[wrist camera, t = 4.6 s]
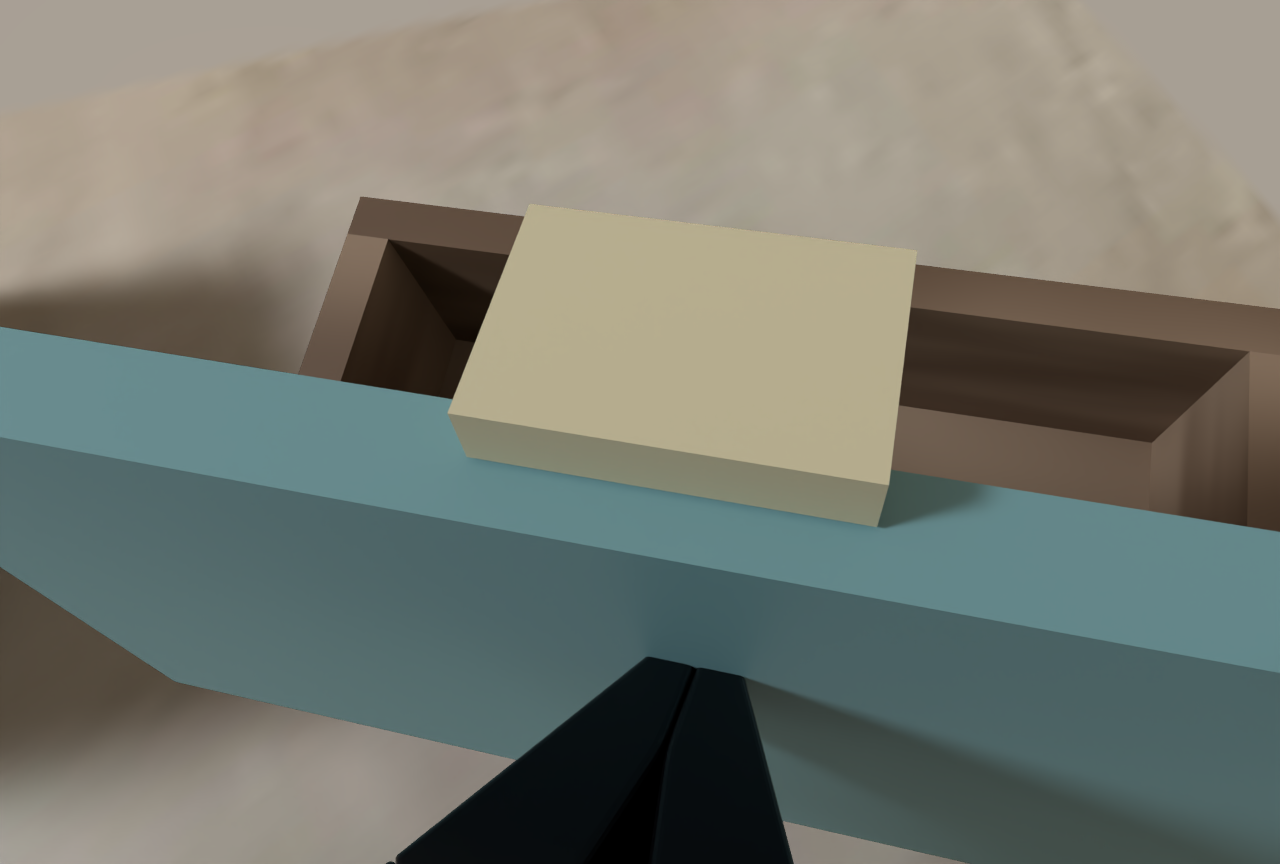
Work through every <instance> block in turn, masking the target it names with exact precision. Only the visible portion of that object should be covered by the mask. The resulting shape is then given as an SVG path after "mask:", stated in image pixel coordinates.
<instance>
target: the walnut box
mask: <svg viewBox="0 0 1280 864" xmlns="http://www.w3.org/2000/svg"><path fill="white" fill-rule="evenodd" d="M523 219H524V217H523V216H515V215H507V214H499V213H491V212H482V211H474V210H466V209H458V208H450V207H442V206H433V205H425V204H417V203H409V202H401V201H393V200H384V199H376V198H368V197H360V200H359V203H358V206H357V209H356V211H355V214H354V217H353V220H352V223H351V226H350V228H349V231H348V234H347V237H346V240H345V243H344V246H343V248H342V251H341V254H340V257H339V260H338V263H337V266H336V268H335V271H334V274H333V277H332V280H331V283H330V285H329V288H328V291H327V294H326V297H325V300H324V303H323V305H322V308H321V311H320V314H319V317H318V320H317V322H316V325H315V328H314V331H313V334H312V337H311V340H310V342H309V345H308V348H307V351H306V354H305V357H304V359H303V362H302V365H301V368H300V371H299V374H298V375H304V376H310V377H316V378H323V379H329V380H335V381H341V382H348V383H354V384H360V385H366V386H373V387H379V388H385V389H391V390H398V391H404V392H410V393H416V394H422V395H429V396H435V397H441V398H447V399H453V397H454V395H455V392H456V390H457V387H458V385H459V382H460V380H461V377H462V375H463V372H464V370H465V367H466V364H467V362H468V359H469V357H470V354H471V352H472V349H473V347H474V344H475V342H476V339H477V336H478V334H479V331H480V329H481V326H482V324H483V321H484V319H485V316H486V314H487V311H488V308H489V306H490V303H491V301H492V298H493V296H494V293H495V291H496V288H497V286H498V283H499V280H500V278H501V275H502V273H503V270H504V268H505V265H506V263H507V260H508V258H509V255H510V252H511V250H512V247H513V245H514V242H515V240H516V237H517V235H518V232H519V230H520V227H521V224H522V222H523ZM891 470H896V471H903V472H909V473H915V474H921V475H928V476H934V477H940V478H946V479H953V480H959V481H965V482H971V483H978V484H984V485H990V486H996V487H1002V488H1009V489H1015V490H1021V491H1027V492H1034V493H1040V494H1046V495H1052V496H1059V497H1065V498H1071V499H1077V500H1084V501H1090V502H1096V503H1102V504H1108V505H1115V506H1121V507H1127V508H1133V509H1140V510H1146V511H1152V512H1158V513H1165V514H1171V515H1177V516H1183V517H1190V518H1196V519H1202V520H1208V521H1214V522H1221V523H1227V524H1233V525H1239V526H1246V527H1252V528H1258V529H1264V530H1271V531H1277V532H1280V309H1275V308H1266V307H1258V306H1250V305H1242V304H1234V303H1226V302H1217V301H1209V300H1201V299H1193V298H1185V297H1177V296H1168V295H1160V294H1152V293H1144V292H1136V291H1128V290H1119V289H1111V288H1103V287H1095V286H1087V285H1079V284H1070V283H1062V282H1054V281H1046V280H1038V279H1030V278H1021V277H1013V276H1005V275H997V274H989V273H981V272H972V271H964V270H956V269H948V268H940V267H932V266H923V265H915V273H914V281H913V290H912V298H911V306H910V315H909V323H908V331H907V340H906V348H905V356H904V365H903V373H902V381H901V389H900V398H899V406H898V414H897V423H896V431H895V439H894V448H893V456H892V464H891Z"/></svg>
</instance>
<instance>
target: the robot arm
mask: <svg viewBox="0 0 1280 864" xmlns="http://www.w3.org/2000/svg"><path fill="white" fill-rule="evenodd" d="M386 864H395V863H394V862H392V861H390V862H387V863H386ZM396 864H794V863H793V859H792V855H791V851H790V848H789V844H788V840H787V836H786V832H785V829H784V825H783V821H782V817H781V813H780V810H779V806H778V802H777V798H776V794H775V791H774V787H773V783H772V779H771V775H770V772H769V768H768V764H767V760H766V756H765V753H764V749H763V745H762V741H761V737H760V734H759V730H758V726H757V722H756V718H755V715H754V711H753V707H752V703H751V699H750V696H749V692H748V688H747V684H746V680H745V678H744V677H742V676H740V675H735V674H730V673H726V672H721V671H716V670H711V669H707V668H701V667H699V668H696V670H695V669H694V668H693V667H692V666H690V665H687V664H683V663H678V662H673V661H669V660H664V659H659V658H654V657H649V656H648V657H645V658H644V659H642V660H641V661H640V662H639V663H637V664H636V665H635V666H634V667H632V668H631V669H630V670H629V671H627V672H626V673H625V674H624V675H622V676H621V677H620V678H619V679H617V680H616V681H615V682H614V683H612V684H611V685H610V686H609V687H607V688H606V689H605V690H604V691H602V692H601V693H600V694H599V695H597V696H596V697H595V698H594V699H592V700H591V701H590V702H589V703H587V704H586V705H585V706H584V707H582V708H581V709H580V710H579V711H577V712H576V713H575V714H574V715H572V716H571V717H570V718H569V719H567V720H566V721H565V722H563V723H562V724H561V725H560V726H558V727H557V728H556V729H555V730H553V731H552V732H551V733H550V734H548V735H547V736H546V737H545V738H543V739H542V740H541V741H540V742H538V743H537V744H536V745H535V746H533V747H532V748H531V749H530V750H528V751H527V752H526V753H525V754H523V755H522V756H521V757H520V758H518V759H517V760H516V761H515V762H513V763H512V764H511V765H510V766H508V767H507V768H506V769H505V770H503V771H502V772H501V773H500V774H498V775H497V776H496V777H495V778H493V779H492V780H491V781H490V782H488V783H487V784H486V785H485V786H483V787H482V788H481V789H480V790H478V791H477V792H476V793H475V794H473V795H472V796H471V797H470V798H468V799H467V800H466V801H465V802H463V803H462V804H461V805H460V806H458V807H457V808H456V809H454V810H453V811H452V812H451V813H449V814H448V815H447V816H446V817H444V818H443V819H442V820H441V821H439V822H438V823H437V824H436V825H434V826H433V827H432V828H431V829H429V830H428V831H427V832H426V833H424V834H423V835H422V836H421V837H419V838H418V839H417V840H416V841H414V842H413V843H412V844H411V845H409V846H408V847H407V848H406V849H404V850H403V851H402V852H401V853H399V854H398V855H397V857H396Z"/></svg>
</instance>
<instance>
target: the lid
mask: <svg viewBox="0 0 1280 864" xmlns="http://www.w3.org/2000/svg"><path fill="white" fill-rule="evenodd" d="M916 256H917V250H910V249H902V248H893V247H885V246H877V245H868V244H860V243H852V242H843V241H835V240H827V239H818V238H810V237H802V236H793V235H785V234H777V233H768V232H760V231H752V230H743V229H735V228H726V227H718V226H710V225H701V224H693V223H685V222H676V221H668V220H660V219H651V218H643V217H635V216H626V215H618V214H610V213H601V212H593V211H585V210H576V209H568V208H560V207H551V206H543V205H535V204H529V207H528V209H527V212H526V214H525V217H524V219H523V222H522V224H521V227H520V230H519V232H518V235H517V237H516V240H515V242H514V245H513V247H512V250H511V252H510V255H509V258H508V260H507V263H506V265H505V268H504V270H503V273H502V275H501V278H500V280H499V283H498V286H497V288H496V291H495V293H494V296H493V298H492V301H491V303H490V306H489V308H488V311H487V314H486V316H485V319H484V321H483V324H482V326H481V329H480V331H479V334H478V336H477V339H476V342H475V344H474V347H473V349H472V352H471V354H470V357H469V359H468V362H467V364H466V367H465V370H464V372H463V375H462V377H461V380H460V382H459V385H458V387H457V390H456V392H455V395H454V397H453V399H447V398H441V397H435V396H429V395H422V394H416V393H410V392H404V391H398V390H391V389H385V388H379V387H373V386H366V385H360V384H354V383H348V382H341V381H335V380H329V379H323V378H316V377H310V376H304V375H298V374H292V373H285V372H279V371H273V370H267V369H260V368H254V367H248V366H242V365H235V364H229V363H223V362H217V361H210V360H204V359H198V358H192V357H186V356H179V355H173V354H167V353H161V352H154V351H148V350H142V349H136V348H129V347H123V346H117V345H111V344H104V343H98V342H92V341H86V340H80V339H73V338H67V337H61V336H55V335H48V334H42V333H36V332H30V331H23V330H17V329H11V328H5V327H0V567H1V568H3V569H4V570H6V571H7V572H9V573H10V574H12V575H13V576H15V577H16V578H18V579H19V580H21V581H22V582H24V583H25V584H27V585H28V586H30V587H31V588H33V589H35V590H36V591H38V592H39V593H41V594H42V595H44V596H45V597H47V598H48V599H50V600H51V601H53V602H54V603H56V604H57V605H59V606H60V607H62V608H64V609H65V610H67V611H68V612H70V613H71V614H73V615H74V616H76V617H77V618H79V619H80V620H82V621H83V622H85V623H86V624H88V625H89V626H91V627H92V628H94V629H96V630H97V631H99V632H100V633H102V634H103V635H105V636H106V637H108V638H109V639H111V640H112V641H114V642H115V643H117V644H118V645H120V646H121V647H123V648H125V649H126V650H128V651H129V652H131V653H132V654H134V655H135V656H137V657H138V658H140V659H141V660H143V661H144V662H146V663H147V664H149V665H150V666H152V667H153V668H155V669H157V670H158V671H160V672H161V673H163V674H164V675H166V676H167V677H169V678H170V679H172V680H173V681H175V682H179V683H183V684H188V685H192V686H196V687H201V688H205V689H209V690H214V691H218V692H222V693H227V694H231V695H236V696H240V697H244V698H249V699H253V700H257V701H262V702H266V703H271V704H275V705H279V706H284V707H288V708H292V709H297V710H301V711H305V712H310V713H314V714H319V715H323V716H327V717H332V718H336V719H340V720H345V721H349V722H354V723H358V724H362V725H367V726H371V727H375V728H380V729H384V730H389V731H393V732H397V733H402V734H406V735H410V736H415V737H419V738H423V739H428V740H432V741H437V742H441V743H445V744H450V745H454V746H458V747H463V748H467V749H472V750H476V751H480V752H485V753H489V754H493V755H498V756H502V757H507V758H511V759H515V760H517V759H518V758H520V757H521V756H522V755H523V754H525V753H526V752H527V751H528V750H530V749H531V748H532V747H533V746H535V745H536V744H537V743H538V742H540V741H541V740H542V739H543V738H545V737H546V736H547V735H548V734H550V733H551V732H552V731H553V730H555V729H556V728H557V727H558V726H560V725H561V724H562V723H563V722H565V721H566V720H567V719H569V718H570V717H571V716H572V715H574V714H575V713H576V712H577V711H579V710H580V709H581V708H582V707H584V706H585V705H586V704H587V703H589V702H590V701H591V700H592V699H594V698H595V697H596V696H597V695H599V694H600V693H601V692H602V691H604V690H605V689H606V688H607V687H609V686H610V685H611V684H612V683H614V682H615V681H616V680H617V679H619V678H620V677H621V676H622V675H624V674H625V673H626V672H627V671H629V670H630V669H631V668H632V667H634V666H635V665H636V664H637V663H639V662H640V661H641V660H642V659H644V658H645V657H648V656H649V657H654V658H659V659H664V660H669V661H673V662H678V663H683V664H687V665H690V666H692V667H693V668H694V669H695V670H696V668H699V667H701V668H707V669H711V670H716V671H721V672H726V673H730V674H735V675H740V676H742V677H744V678H745V680H746V684H747V688H748V692H749V696H750V699H751V703H752V707H753V711H754V715H755V718H756V722H757V726H758V730H759V734H760V737H761V741H762V745H763V749H764V753H765V756H766V760H767V764H768V768H769V772H770V775H771V779H772V783H773V787H774V791H775V794H776V798H777V802H778V806H779V810H780V813H781V817H782V821H786V822H791V823H795V824H799V825H804V826H808V827H812V828H817V829H821V830H826V831H830V832H834V833H839V834H843V835H847V836H852V837H856V838H861V839H865V840H869V841H874V842H878V843H882V844H887V845H891V846H895V847H900V848H904V849H909V850H913V851H917V852H922V853H926V854H930V855H935V856H939V857H944V858H948V859H952V860H957V861H961V862H965V863H970V864H1280V532H1277V531H1271V530H1264V529H1258V528H1252V527H1246V526H1239V525H1233V524H1227V523H1221V522H1214V521H1208V520H1202V519H1196V518H1190V517H1183V516H1177V515H1171V514H1165V513H1158V512H1152V511H1146V510H1140V509H1133V508H1127V507H1121V506H1115V505H1108V504H1102V503H1096V502H1090V501H1084V500H1077V499H1071V498H1065V497H1059V496H1052V495H1046V494H1040V493H1034V492H1027V491H1021V490H1015V489H1009V488H1002V487H996V486H990V485H984V484H978V483H971V482H965V481H959V480H953V479H946V478H940V477H934V476H928V475H921V474H915V473H909V472H903V471H896V470H891V464H892V456H893V448H894V439H895V431H896V423H897V414H898V406H899V398H900V389H901V381H902V373H903V365H904V356H905V348H906V340H907V331H908V323H909V315H910V306H911V298H912V290H913V281H914V273H915V265H916Z"/></svg>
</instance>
